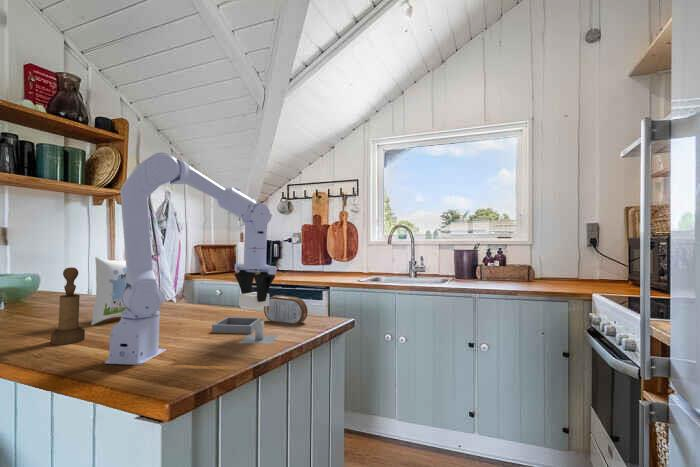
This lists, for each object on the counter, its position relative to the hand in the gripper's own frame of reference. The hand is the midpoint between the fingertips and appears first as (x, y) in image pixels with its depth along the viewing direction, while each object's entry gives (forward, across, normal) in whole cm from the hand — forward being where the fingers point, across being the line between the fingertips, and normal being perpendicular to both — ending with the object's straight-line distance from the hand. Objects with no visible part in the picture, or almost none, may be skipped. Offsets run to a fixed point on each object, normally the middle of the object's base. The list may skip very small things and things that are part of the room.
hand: (253, 300), depth 96 cm
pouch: (+10, +48, +12) cm, 51 cm away
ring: (+1, 0, 0) cm, 1 cm away
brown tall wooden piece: (+10, +32, +31) cm, 45 cm away
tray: (+10, +10, -2) cm, 14 cm away
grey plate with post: (+10, -4, +1) cm, 11 cm away
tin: (+10, +7, -18) cm, 21 cm away
